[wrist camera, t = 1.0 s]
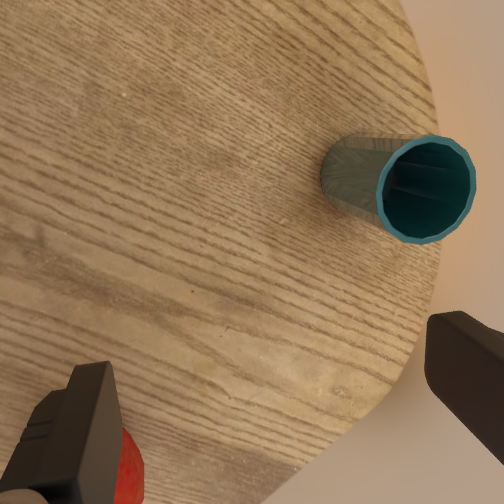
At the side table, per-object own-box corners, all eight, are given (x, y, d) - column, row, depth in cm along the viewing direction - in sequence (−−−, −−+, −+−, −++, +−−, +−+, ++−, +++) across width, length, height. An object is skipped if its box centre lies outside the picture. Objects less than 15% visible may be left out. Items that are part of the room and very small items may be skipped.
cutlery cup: (314, 143, 34) (370, 149, 24) (390, 125, 35) (473, 125, 25) (326, 221, 36) (383, 255, 26) (399, 203, 36) (478, 230, 27)
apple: (78, 485, 38) (45, 616, 28) (22, 415, 36) (-37, 531, 25) (166, 440, 39) (165, 553, 28) (117, 367, 36) (96, 462, 26)
